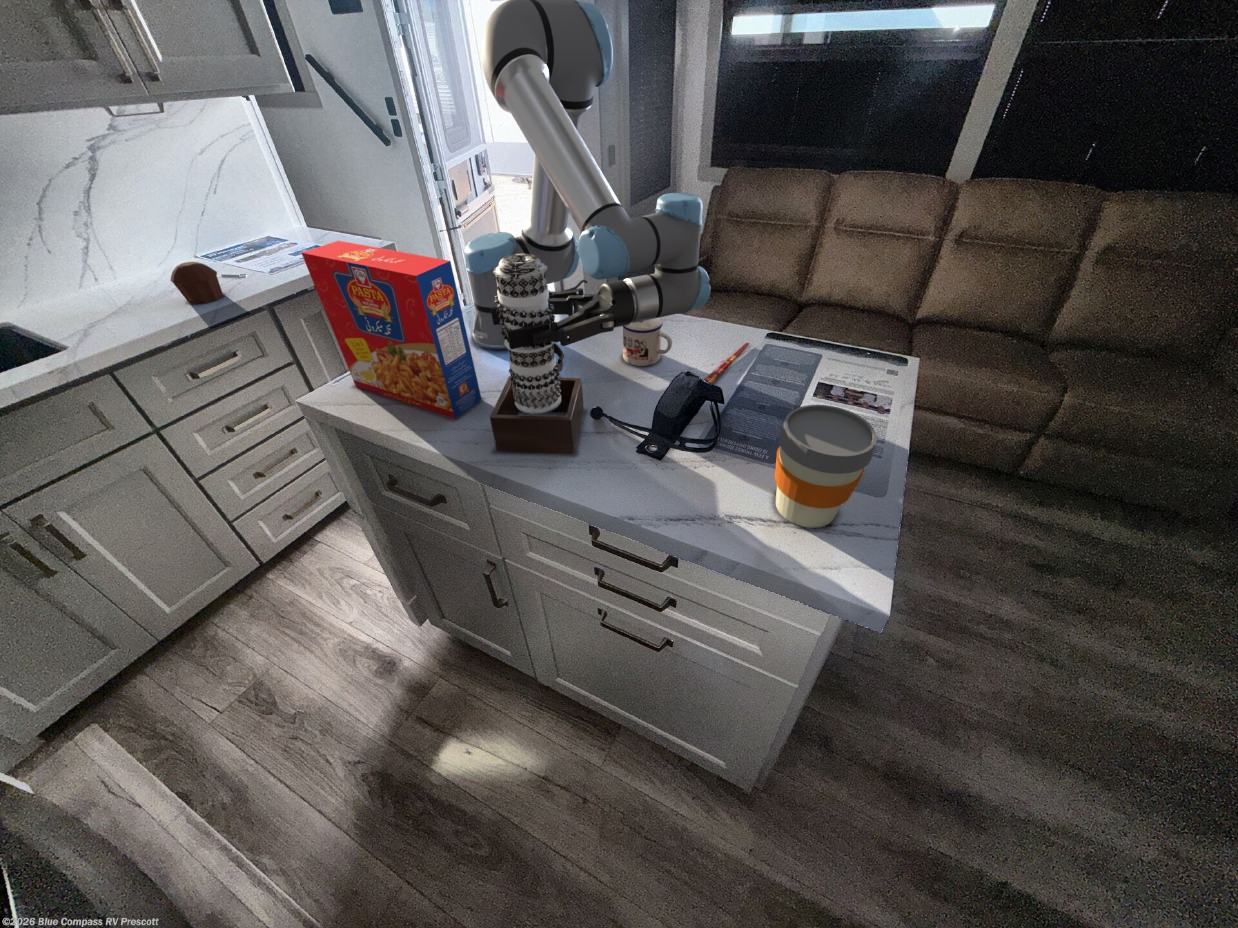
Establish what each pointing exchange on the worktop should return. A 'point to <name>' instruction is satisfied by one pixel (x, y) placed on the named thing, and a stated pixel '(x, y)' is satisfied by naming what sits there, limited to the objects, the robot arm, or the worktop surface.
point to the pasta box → (397, 324)
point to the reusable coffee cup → (820, 462)
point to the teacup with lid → (644, 342)
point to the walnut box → (539, 422)
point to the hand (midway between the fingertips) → (500, 328)
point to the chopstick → (724, 366)
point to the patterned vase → (523, 308)
